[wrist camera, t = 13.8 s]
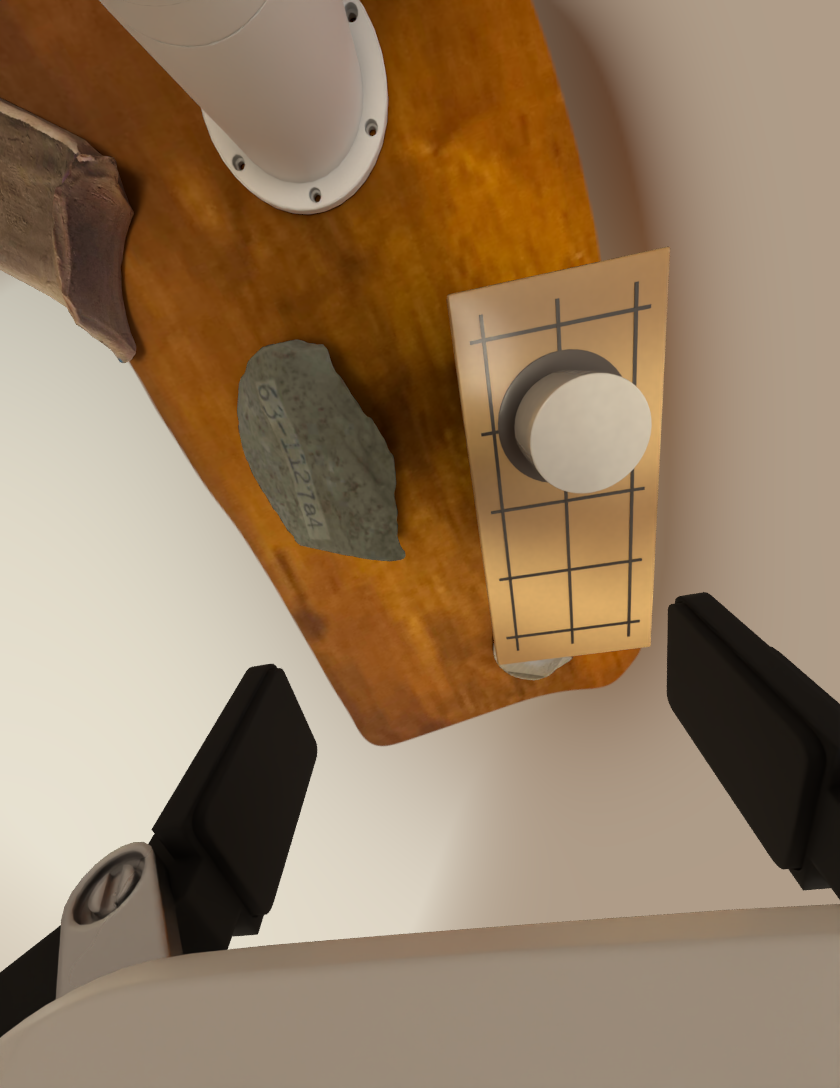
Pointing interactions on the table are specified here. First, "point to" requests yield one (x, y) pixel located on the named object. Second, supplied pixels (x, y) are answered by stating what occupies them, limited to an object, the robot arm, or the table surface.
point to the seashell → (533, 667)
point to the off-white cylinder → (583, 429)
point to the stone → (318, 453)
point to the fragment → (64, 223)
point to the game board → (517, 487)
